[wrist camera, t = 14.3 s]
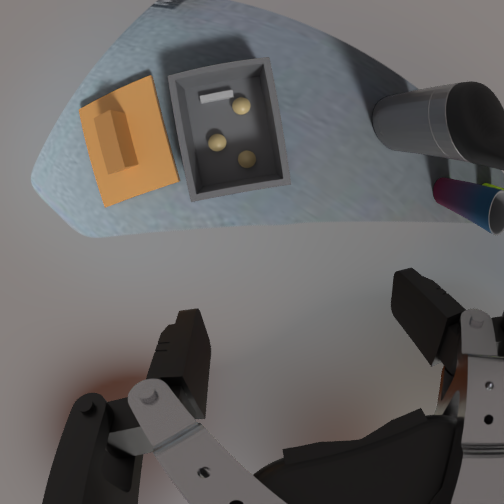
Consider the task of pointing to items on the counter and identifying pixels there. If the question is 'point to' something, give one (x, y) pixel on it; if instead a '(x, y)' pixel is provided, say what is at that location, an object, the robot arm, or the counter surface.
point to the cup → (472, 202)
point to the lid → (128, 142)
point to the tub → (229, 128)
